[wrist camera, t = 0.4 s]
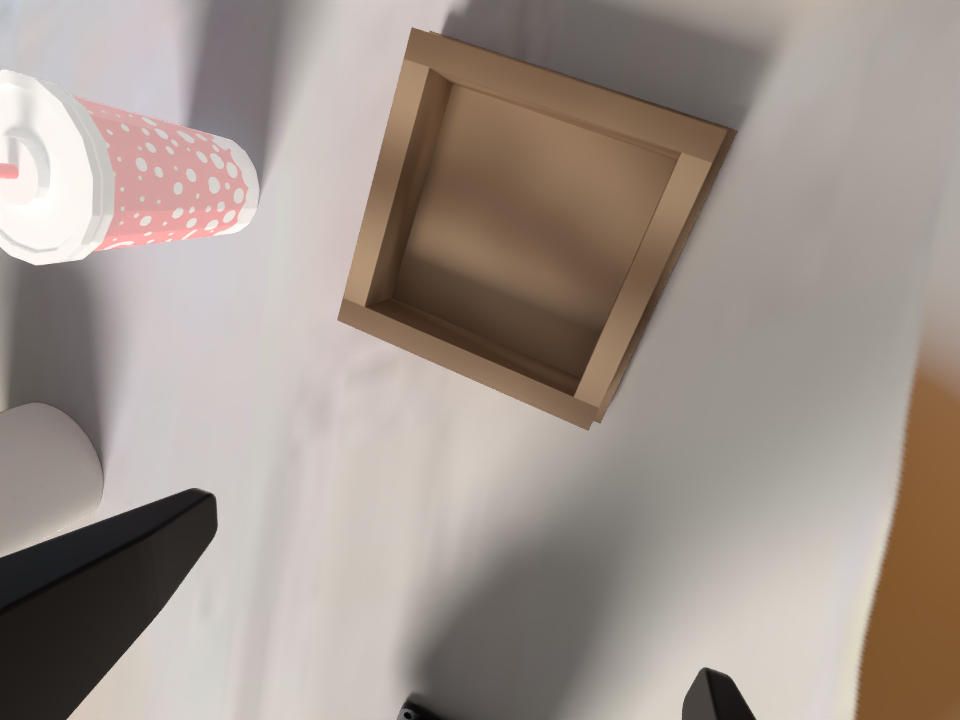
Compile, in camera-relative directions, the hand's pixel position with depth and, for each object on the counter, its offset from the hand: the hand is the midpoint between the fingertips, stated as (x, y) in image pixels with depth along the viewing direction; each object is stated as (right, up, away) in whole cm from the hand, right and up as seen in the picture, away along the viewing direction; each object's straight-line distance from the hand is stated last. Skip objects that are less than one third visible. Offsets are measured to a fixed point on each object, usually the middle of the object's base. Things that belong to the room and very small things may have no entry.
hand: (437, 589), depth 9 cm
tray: (+3, +9, +13) cm, 16 cm away
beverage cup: (-12, +13, +17) cm, 24 cm away
